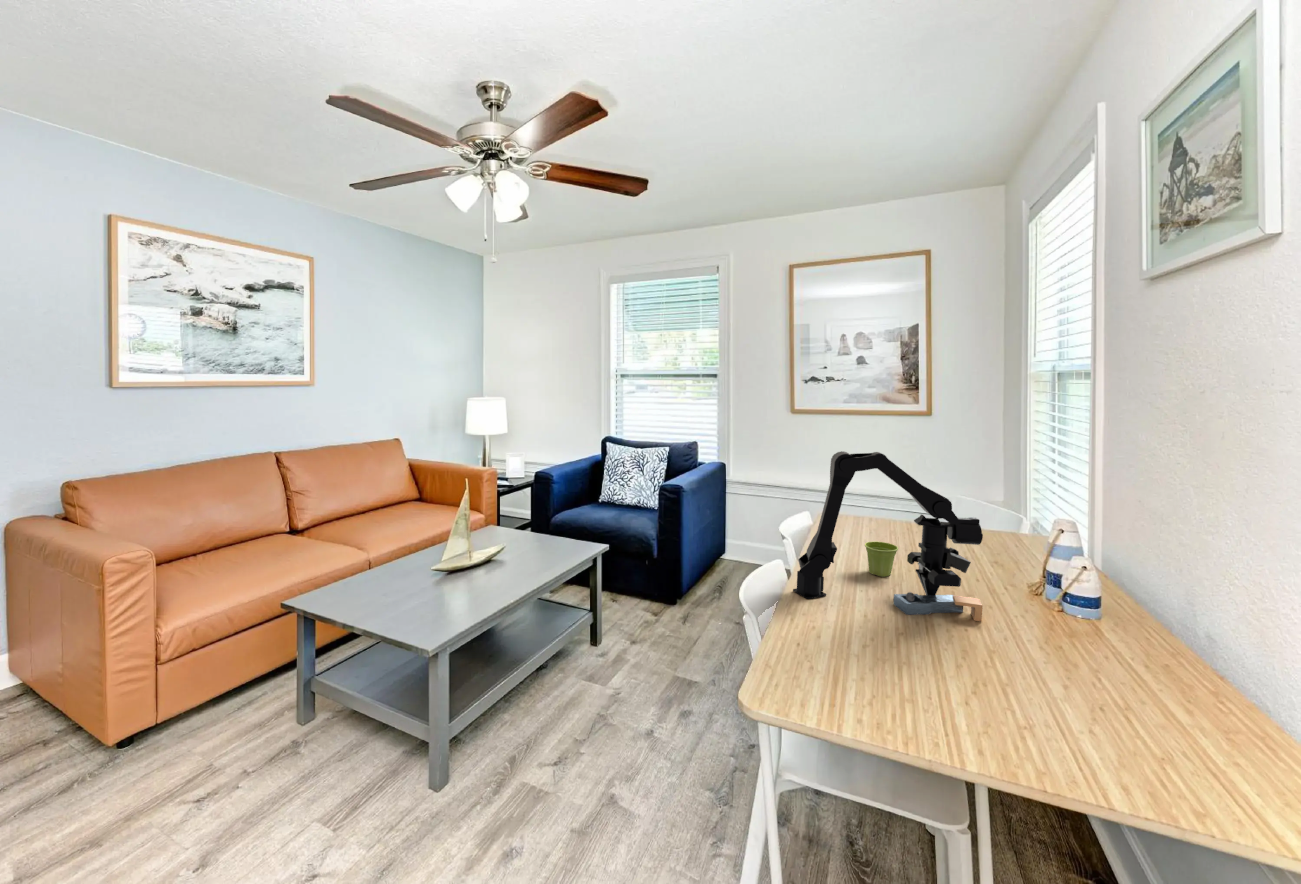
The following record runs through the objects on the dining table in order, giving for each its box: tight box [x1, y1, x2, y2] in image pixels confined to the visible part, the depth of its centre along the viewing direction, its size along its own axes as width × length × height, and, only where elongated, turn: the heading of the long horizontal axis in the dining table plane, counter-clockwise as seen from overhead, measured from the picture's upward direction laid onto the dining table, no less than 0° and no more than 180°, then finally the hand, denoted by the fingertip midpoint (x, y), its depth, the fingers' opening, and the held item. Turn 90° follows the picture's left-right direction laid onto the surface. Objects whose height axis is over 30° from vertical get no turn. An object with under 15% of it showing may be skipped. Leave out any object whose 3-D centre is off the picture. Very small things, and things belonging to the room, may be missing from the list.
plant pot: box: [864, 541, 899, 578], centre depth 159 cm, size 9×9×9 cm
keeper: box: [952, 594, 984, 622], centre depth 129 cm, size 6×4×4 cm
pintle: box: [905, 591, 915, 602], centre depth 134 cm, size 2×2×4 cm
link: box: [893, 593, 964, 616], centre depth 133 cm, size 15×6×3 cm, turn 93°
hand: (930, 599), depth 137 cm, fingers closed
